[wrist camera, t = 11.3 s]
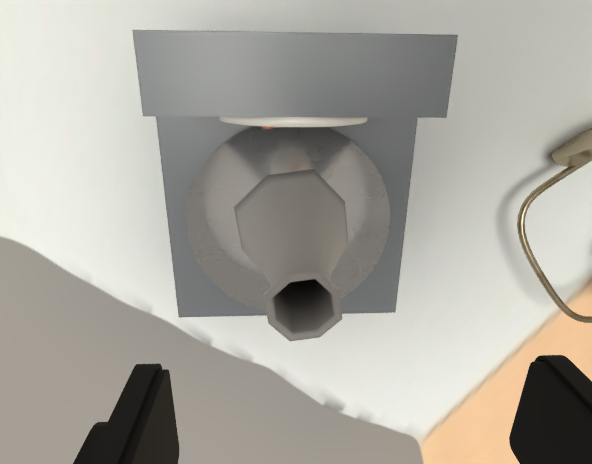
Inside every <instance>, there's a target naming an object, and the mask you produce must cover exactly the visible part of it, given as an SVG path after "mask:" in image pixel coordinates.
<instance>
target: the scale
mask: <svg viewBox="0 0 592 464" xmlns="http://www.w3.org/2000/svg"><path fill="white" fill-rule="evenodd" d="M457 37H458V35H427V34H363V33H300V32H236V31H173V30H133V38H134V46H135V54H136V62H137V70H138V78H139V86H140V94H141V102H142V111H143V116H156V119H157V128H158V137H159V146H160V155H161V163H162V172H163V181H164V190H165V199H166V208H167V217H168V226H169V234H170V243H171V252H172V261H173V270H174V279H175V288H176V297H177V305H178V314H179V317H210V316H254V315H267V311H263V310H259V309H255V308H252V307H250V306H247V305H244V304H242V303H240V302H238V301H236V300H235V299H233V298H231V297H230V296H228V295H227V294H225V293H224V292H223V291H221V290H220V289H219V288H218V287H217V286H216V285H215V284H214V283H212V281H211V280H210V279H209V278H208V277H207V275H206V274H205V273H204V272H203V270H202V269H201V267H200V265H199V264H198V262H197V260H196V258H195V256H194V254H193V252H192V248H191V245H190V242H189V238H188V232H187V220H186V213H187V205H188V199H189V195H190V191H191V188H192V186H193V183H194V181H195V179H196V176H197V175H198V173H199V171H200V170H201V168H202V166H203V165H204V163H205V162H206V161H207V160H208V159H209V157H210V156H211V155H212V154H213V152H214V151H215V150H216V149H217V148H218V147H220V146H221V145H222V144H223V143H224V142H225V141H226V140H228V139H229V138H231V137H232V136H234V135H235V134H237V133H239V132H241V131H243V130H245V129H247V128H249V127H252V126H263V128H264V129H271V128H276V127H329V128H331V129H333V130H335V131H337V132H339V133H341V134H342V135H344V136H345V137H347V138H348V139H349V140H351V141H352V142H354V143H355V144H356V145H357V146H358V147H359V148H360V149H361V150H362V151H363V152H364V153H366V155H367V156H368V157H369V158H370V160H371V161H372V162H373V163H374V165H375V167H376V168H377V170H378V172H379V173H380V175H381V177H382V180H383V182H384V185H385V187H386V191H387V195H388V199H389V206H390V227H389V233H388V238H387V241H386V245H385V248H384V250H383V252H382V255H381V257H380V259H379V261H378V262H377V264H376V266H375V267H374V269H373V270H372V272H371V273H370V274H369V275H368V277H367V278H366V279H365V280H364V281H363V282H362V283H361V284H360V285H359V286H358V287H357V288H356V289H354V290H353V291H352V292H350V293H349V294H348V295H346V296H345V297H343V298H341V299H340V301H341V311H342V314H344V313H388V312H395V309H396V301H397V292H398V283H399V274H400V266H401V257H402V248H403V239H404V231H405V222H406V213H407V204H408V196H409V187H410V178H411V169H412V160H413V152H414V143H415V134H416V125H417V117H435V118H446V116H447V109H448V102H449V95H450V87H451V80H452V73H453V66H454V59H455V52H456V44H457Z"/></svg>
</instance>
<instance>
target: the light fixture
mask: <svg viewBox="0 0 592 464" xmlns="http://www.w3.org/2000/svg"><path fill="white" fill-rule="evenodd" d="M552 158H553V159H554V161H555V163H556V164H557V165H560V166H564V167H568V168H566V169H565V170H563V171H561V172H560V173H558V174H557V175H555V176H554V177H552V178H551V179H549V180H548V181H546V182H545V183H543V184H542V185H540V186H539V187H538V188H536V189H535V190H534V191H532V192H531V194H530V195H529V196H528V197H527V198H526V199H525V201H524V202H523V204H522V206H521V208H520V211H519V214H518V222H517V227H518V235H519V239H520V242H521V245H522V248H523V250H524V253H525V255H526V257H527V259H528V261H529V263H530V265H531V267H532V268H533V270H534V272H535V274H536V275H537V277H538V278H539V280H540V282H541V283H542V285H543V286H544V288H545V290H546V291H547V293H548V294H549V296H550V297H551V298H552V300H553V301H554V302H555V304H556V305H557V306H558V307H559V308H560V309H561V310H562V311H563V312H564V313H565V314H566V315H568V316H569V317H571V318H573V319H575V320H577V321H580V322H585V323H592V317H585V316H581V315H578V314H576V313H574V312H573V311H572V310H570V309H569V308H568V307H567V306H566V305H565V304H564V303H563V301H562V300H561V299H560V298H559V296H558V295H557V294H556V292H555V291H554V289H553V288H552V286H551V285H550V283H549V281H548V280H547V278H546V277H545V275H544V273H543V272H542V270H541V268H540V266H539V265H538V263H537V261H536V259H535V257H534V255H533V253H532V251H531V249H530V246H529V243H528V241H527V237H526V233H525V216H526V212H527V210H528V208H529V206H530V204H531V203H532V202H533V200H534V199H535V198H536V197H537V196H538V195H540V194H541V193H542V192H544V191H545V190H546V189H548V188H549V187H551V186H552V185H554V184H555V183H557V182H558V181H560V180H562V179H563V178H565V177H566V176H568V175H569V174H571V173H573V172H574V171H576V170H577V169H579V168H580V167H582V166H584V165H586V164H587V163H589V162H590V161H592V129H590V130H587V131H585V132H583V133H582V134H580V135H579V136H577V137H575V138H574V139H572V140H571V141H569V142H567V143H566V144H564V145H562V146H561V147H559V148H558V149H556V150H554V152H553V153H552Z"/></svg>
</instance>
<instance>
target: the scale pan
mask: <svg viewBox="0 0 592 464" xmlns="http://www.w3.org/2000/svg"><path fill="white" fill-rule="evenodd" d="M309 169H314V170H315V171H316V172H317V173H318V174H319V175H320V176H321V177H322V178H323V179H324V180H325V181H326V182H327V183H328V184H329V185H330V186H331V187H332V188H333V189H334V190H335V191H336V192H337V194H338V195H339V196H340V197H341V198H342V199H343V200H344V201H345V207H346V219H347V232H348V245H347V247H346V249H345V250H344V252H343V254H342V255H341V257H340V258H339V260H338V262H337V264H336V266H335V268H334V270H333V272H332V274H331V277H330V281H331V282H332V283H333V284H334V285H335V286H336V287H337V288H338V289H339V291H340V299H341V298H343V297H345V296H346V295H348V294H349V293H350V292H352V291H353V290H354V289H356V288H357V287H358V286H359V285H360V284H361V283H362V282H363V281H364V280H365V279H366V278H367V277H368V275H369V274H370V273H371V272H372V270H373V269H374V267H375V266H376V264H377V262H378V261H379V259H380V257H381V255H382V252H383V250H384V248H385V245H386V241H387V238H388V233H389V227H390V206H389V199H388V195H387V191H386V187H385V185H384V182H383V180H382V177H381V175H380V173H379V172H378V170H377V168H376V167H375V165H374V163H373V162H372V161H371V160H370V158H369V157H368V156H367V155H366V153H364V152H363V151H362V150H361V149H360V148H359V147H358V146H357V145H356V144H355V143H354V142H352V141H351V140H349V139H348V138H347V137H345V136H344V135H342V134H341V133H339V132H337V131H335V130H333V129H331V128H329V127H276V128H271V129H264V128H263V126H252V127H249V128H247V129H245V130H243V131H241V132H239V133H237V134H235V135H234V136H232V137H231V138H229V139H228V140H226V141H225V142H224V143H223V144H222V145H221V146H220V147H218V148H217V149H216V150H215V151H214V152H213V154H212V155H211V156H210V157H209V159H208V160H207V161H206V162H205V163H204V165H203V166H202V168H201V170H200V171H199V173H198V175H197V176H196V179H195V181H194V183H193V186H192V188H191V191H190V195H189V199H188V205H187V213H186V220H187V232H188V238H189V242H190V245H191V248H192V252H193V254H194V256H195V258H196V260H197V262H198V264H199V265H200V267H201V269H202V270H203V272H204V273H205V274H206V275H207V277H208V278H209V279H210V280H211V281H212V283H214V284H215V285H216V286H217V287H218V288H219V289H220V290H221V291H223V292H224V293H225V294H227V295H228V296H230V297H231V298H233V299H235V300H236V301H238V302H240V303H242V304H244V305H247V306H250V307H252V308H255V309H259V310H263V311H266V305H265V299H264V293H265V291H266V290H267V289H269V288H270V287H271V285H270V282H269V280H268V278H267V277H266V276H265V275H264V274H263V272H262V271H261V270H260V269H259V267H258V266H257V265H256V264H255V263H254V262H253V261H252V260H251V259H250V258H249V257H248V256H247V255H246V254H245V253H244V251H243V250H242V248H241V242H240V237H239V232H238V226H237V221H236V216H235V210H234V207H235V206H236V205H237V204H238V203H239V202H240V201H241V200H242V199H243V198H244V197H245V196H246V195H247V194H248V193H249V192H250V191H251V190H252V189H253V188H254V187H255V186H256V185H257V184H258V183H259V182H260V181H261V180H262V179H263V178H264V177H265V176H266V175H272V174H279V173H287V172H294V171H302V170H309Z"/></svg>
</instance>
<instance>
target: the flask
mask: <svg viewBox="0 0 592 464" xmlns="http://www.w3.org/2000/svg"><path fill="white" fill-rule="evenodd" d="M234 210H235V216H236V221H237V226H238V232H239V237H240V242H241V248H242V250H243V251H244V253H245V254H246V255H247V256H248V257H249V258H250V259H251V260H252V261H253V262H254V263H255V264H256V265H257V266H258V267H259V269H260V270H261V271H262V272H263V274H264V275H265V276H266V277H267V278H268V280H269V282H270V285H271V287H270V288H269V289H267V290H266V291H265V293H264V299H265V305H266V311H267V317H268V322H269V324H270V325H271V326H272V327H274V328H275V329H276V330H277V331H278V332H280V333H281V334H282V335H283V336H284V337H286V338H287V339H288V340H289V341H295V340H303V339H310V338H317V337H321V336H322V335H323V334H324V333H325V332H327V331H328V330H329V329H330V328H332V327H333V326H334V325H335V324H336V323H338V322H339V321H340V320H341V319H342V311H341V301H340V291H339V289H338V288H337V287H336V286H335V285H334V284H333V283H332V282H331V281H330V277H331V274H332V272H333V270H334V268H335V266H336V264H337V262H338V260H339V258H340V257H341V255H342V254H343V252H344V250H345V249H346V247H347V245H348V232H347V219H346V207H345V201H344V200H343V199H342V198H341V197H340V196H339V195H338V194H337V192H336V191H335V190H334V189H333V188H332V187H331V186H330V185H329V184H328V183H327V182H326V181H325V180H324V179H323V178H322V177H321V176H320V175H319V174H318V173H317V172H316V171H315V170H314V169H309V170H302V171H294V172H287V173H279V174H272V175H266V176H265V177H264V178H263V179H262V180H261V181H260V182H259V183H258V184H257V185H256V186H255V187H254V188H253V189H252V190H251V191H250V192H249V193H248V194H247V195H246V196H245V197H244V198H243V199H242V200H241V201H240V202H239V203H238V204H237V205H236V206H235V207H234Z"/></svg>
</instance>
